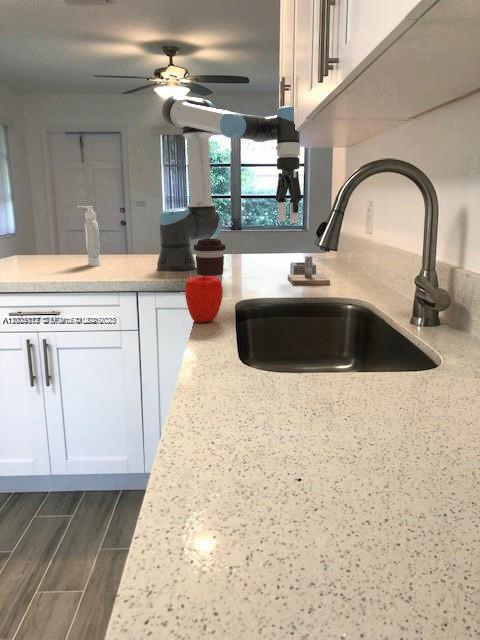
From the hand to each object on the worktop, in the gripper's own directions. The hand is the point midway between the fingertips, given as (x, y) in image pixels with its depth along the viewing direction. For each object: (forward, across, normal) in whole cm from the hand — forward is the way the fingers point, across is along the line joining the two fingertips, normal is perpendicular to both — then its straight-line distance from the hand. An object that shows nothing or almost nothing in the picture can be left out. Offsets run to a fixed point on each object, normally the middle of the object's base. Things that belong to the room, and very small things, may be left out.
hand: (287, 222), depth 172 cm
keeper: (+19, +9, +4) cm, 22 cm away
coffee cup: (+19, +10, -29) cm, 36 cm away
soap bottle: (+18, -54, -69) cm, 90 cm away
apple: (+20, +53, -38) cm, 68 cm away
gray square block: (+19, -5, +8) cm, 21 cm away
